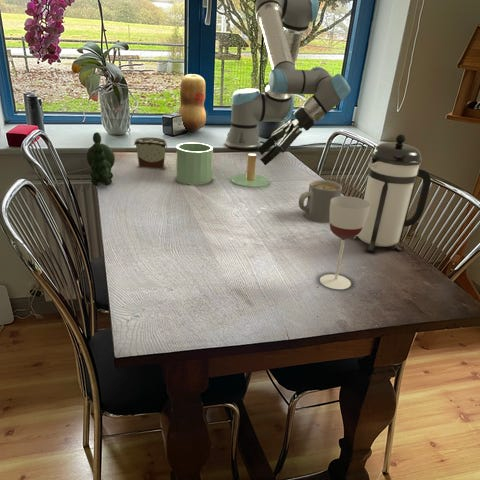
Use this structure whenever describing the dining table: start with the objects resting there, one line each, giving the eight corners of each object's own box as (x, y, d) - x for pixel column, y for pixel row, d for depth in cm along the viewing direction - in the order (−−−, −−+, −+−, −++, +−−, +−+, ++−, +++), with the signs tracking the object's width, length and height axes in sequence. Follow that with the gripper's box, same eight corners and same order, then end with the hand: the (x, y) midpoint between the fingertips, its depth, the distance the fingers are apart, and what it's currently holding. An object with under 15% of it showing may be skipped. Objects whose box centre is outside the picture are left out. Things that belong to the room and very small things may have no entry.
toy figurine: (116, 196, 166) (115, 167, 185) (112, 139, 154) (111, 114, 173) (87, 196, 164) (89, 167, 183) (80, 138, 152) (83, 113, 171)
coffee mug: (330, 210, 162) (335, 180, 157) (341, 222, 154) (347, 190, 149) (291, 210, 160) (295, 179, 154) (300, 222, 152) (304, 190, 146)
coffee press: (397, 261, 133) (428, 146, 116) (342, 245, 139) (363, 134, 123) (415, 240, 145) (445, 134, 129) (363, 226, 152) (385, 123, 136)
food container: (170, 165, 193) (170, 138, 188) (167, 169, 188) (166, 142, 183) (139, 162, 194) (138, 135, 188) (135, 166, 189) (133, 139, 183)
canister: (200, 172, 187) (201, 141, 181) (218, 182, 179) (219, 150, 173) (170, 177, 181) (170, 144, 175) (187, 187, 173) (187, 153, 166)
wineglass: (314, 273, 124) (327, 195, 113) (348, 274, 125) (364, 196, 114) (321, 289, 117) (335, 208, 106) (357, 290, 118) (375, 209, 107)
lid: (254, 175, 189) (256, 147, 184) (276, 185, 180) (279, 157, 174) (223, 179, 182) (225, 151, 177) (245, 191, 173) (247, 161, 167)
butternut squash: (188, 135, 235) (189, 77, 221) (172, 129, 243) (171, 73, 229) (211, 132, 243) (213, 76, 229) (195, 127, 251) (195, 72, 237)
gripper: (321, 131, 160) (271, 175, 167) (309, 115, 181) (264, 155, 188) (307, 113, 157) (256, 158, 164) (296, 99, 178) (251, 140, 185)
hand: (260, 157), depth 176 cm, fingers open, 13 cm apart
